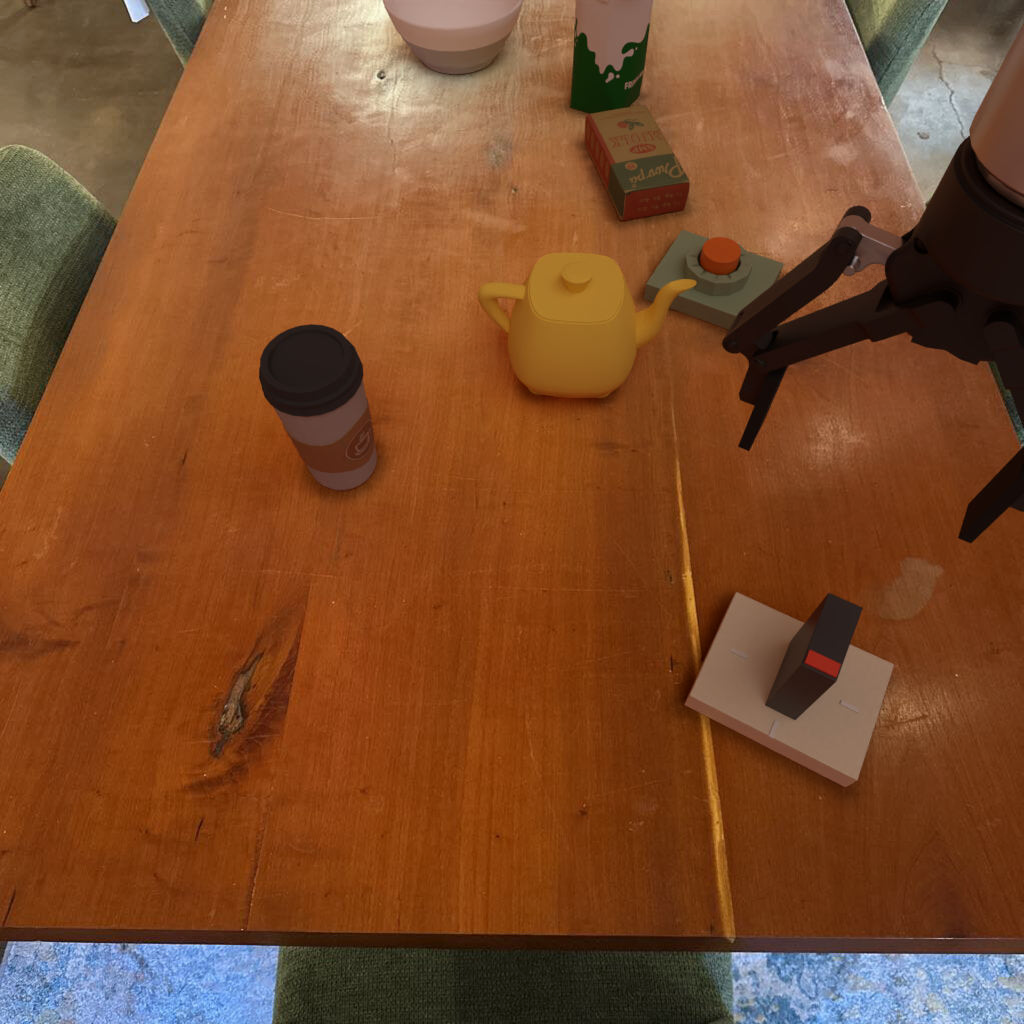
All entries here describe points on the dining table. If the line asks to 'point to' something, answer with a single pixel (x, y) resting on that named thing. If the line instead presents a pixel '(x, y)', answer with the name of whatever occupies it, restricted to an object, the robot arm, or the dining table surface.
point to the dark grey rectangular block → (814, 656)
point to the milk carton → (609, 53)
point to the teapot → (576, 324)
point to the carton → (635, 163)
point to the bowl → (454, 30)
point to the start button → (720, 256)
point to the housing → (712, 281)
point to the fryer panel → (750, 677)
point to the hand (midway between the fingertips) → (855, 477)
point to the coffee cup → (321, 403)
